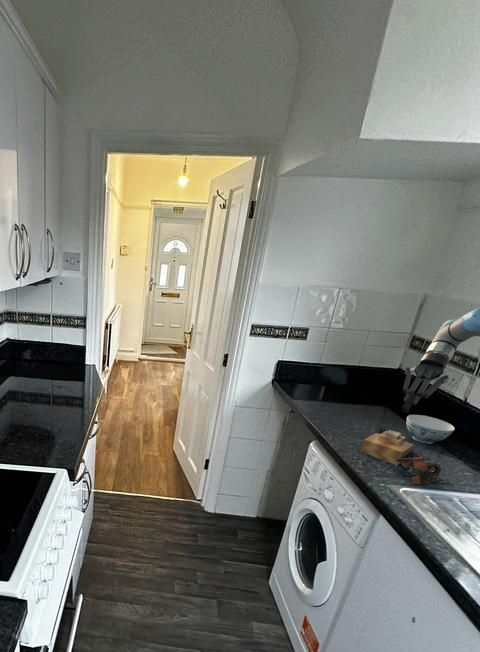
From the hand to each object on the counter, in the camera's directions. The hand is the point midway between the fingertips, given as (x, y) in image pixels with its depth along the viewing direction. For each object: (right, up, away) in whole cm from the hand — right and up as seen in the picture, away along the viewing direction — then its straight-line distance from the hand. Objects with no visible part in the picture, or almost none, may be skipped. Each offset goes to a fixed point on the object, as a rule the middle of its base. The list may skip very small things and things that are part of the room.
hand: (404, 410), depth 144 cm
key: (-3, -9, +2) cm, 10 cm away
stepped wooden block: (-5, -16, +4) cm, 17 cm away
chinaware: (+20, -11, +18) cm, 29 cm away
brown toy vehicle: (-6, -22, -11) cm, 26 cm away
